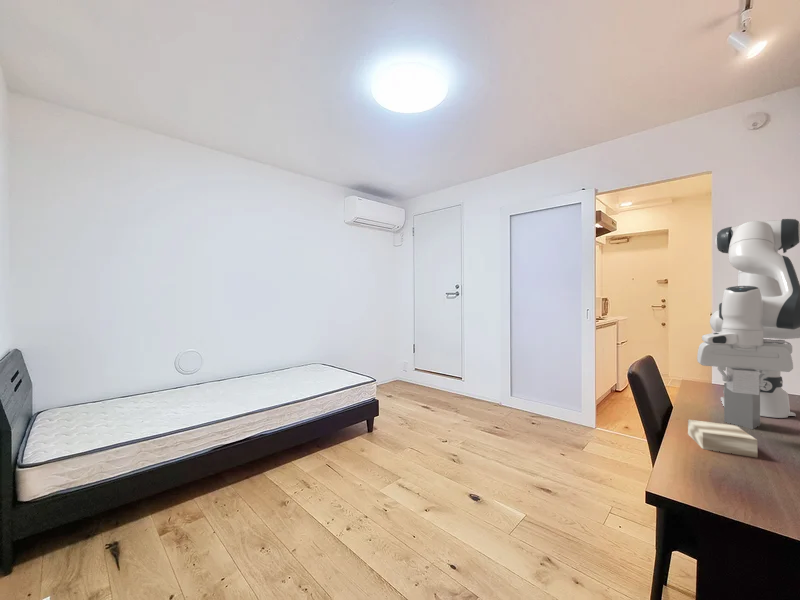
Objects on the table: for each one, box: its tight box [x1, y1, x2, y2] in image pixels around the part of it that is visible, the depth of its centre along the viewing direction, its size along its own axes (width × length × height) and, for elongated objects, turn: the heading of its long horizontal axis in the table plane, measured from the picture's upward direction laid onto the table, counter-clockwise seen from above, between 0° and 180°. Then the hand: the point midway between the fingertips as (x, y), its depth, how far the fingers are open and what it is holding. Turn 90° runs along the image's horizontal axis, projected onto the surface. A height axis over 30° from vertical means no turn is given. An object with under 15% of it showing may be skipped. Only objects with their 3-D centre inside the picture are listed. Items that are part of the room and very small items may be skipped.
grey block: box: [726, 367, 759, 395], centre depth 98 cm, size 6×6×7 cm
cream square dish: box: [687, 419, 758, 458], centre depth 91 cm, size 11×11×5 cm
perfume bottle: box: [723, 382, 761, 430], centre depth 107 cm, size 7×7×18 cm
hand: (742, 382), depth 98 cm, fingers closed on grey block, 5 cm apart
